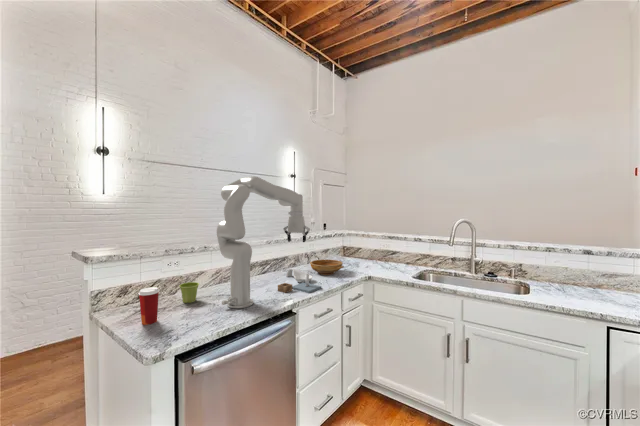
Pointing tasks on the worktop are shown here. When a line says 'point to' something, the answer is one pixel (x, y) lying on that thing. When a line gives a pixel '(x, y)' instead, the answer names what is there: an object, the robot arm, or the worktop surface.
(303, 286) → the post board
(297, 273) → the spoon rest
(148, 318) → the paper cup
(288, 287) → the collar
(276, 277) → the worktop surface
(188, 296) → the plant pot
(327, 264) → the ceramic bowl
